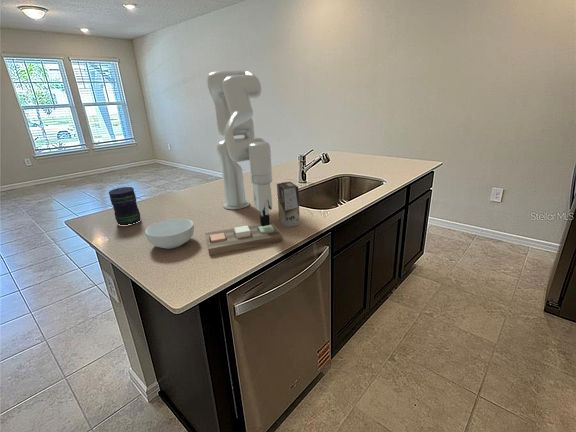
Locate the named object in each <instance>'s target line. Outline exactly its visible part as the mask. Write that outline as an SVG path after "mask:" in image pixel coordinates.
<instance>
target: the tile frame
mask: <svg viewBox="0 0 576 432" xmlns="http://www.w3.org/2000/svg"><path fill="white" fill-rule="evenodd" d="M270 225H271V226H272V227H273V228H274V232H270V233H265V234H260V233H259V231H258V227H259V226H261V223H256V224H250V225H249V224H248V225H247V226H248V228H249V229H250V234H251V236H248V237H243V238H237V239H236V236H235V231H234V228H235V227H231V228H227V229H220V230H215V231H210V232H209V231H208V232H204V234H205V240H206V244H207V245H206V246H207V251H208V255H209V256H213V255H218V254H223V253H224V254H225V253H229V252H235V251H239V250H245V249H251V248H255V247H260V246H266V245H271V244H275V243H281V242H283V235H282V233H281V232H280V231H279V229H278V228H277V226H276V225H275V224H274V223H273V222H272V221H270ZM219 233H224V235H225V238H226V241H221V242H215V243H211V238H210V235H214V234H219Z"/></svg>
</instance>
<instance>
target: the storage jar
mask: <svg viewBox="0 0 576 432" xmlns="http://www.w3.org/2000/svg"><path fill="white" fill-rule="evenodd" d="M108 195H109V200H110V202H111V206H112V208H113V211H114V216H115V217H114V218H115V220H116V223H118V224H120V225H128V224H133V223H136V222H138V221H140V219H141V212H140V210H139V207H138V204H137V195H136V193H135V189H134V187H132V186H123V187H117V188H114V189H111V190H109V191H108ZM141 220H142V219H141ZM118 224H117V225H118Z"/></svg>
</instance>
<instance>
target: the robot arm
mask: <svg viewBox="0 0 576 432" xmlns="http://www.w3.org/2000/svg"><path fill="white" fill-rule="evenodd" d="M206 80H207V81H206V82H207V87H208V91H209V93H210V96H211V98H212V100H213V103H214V109H215V117H216V125H217V126H216V127H217V130H218V133H219V135H220V136H222V137H224V139H223V140H220V141H218V143H217V146H216V152H217V155H218V158H219V162H220V169H221V173H222V182H223V189H224V196H225V202H223V204H222V205H223V208H224V209H226V210H240V209H245V208H246V207H248V206H249V205H250V201H249V200H248V199H246V191H245V190H246V189H245V182H244V181H245V180H244V172H243V168H242V166H241V165H240V164H239V162H247V161H249V169H250V170H249V173H250V181H251V184H252V189H253V191H252V193H253V204H254V206H255V208H256V210H257V211H259V221H260V223H261V226H268V225H270V222H271V221H270V211H271V210H273V198H272V197H273V196H272V187H271V183H273V169H272V156H271V155H272V154H271V145H270V143H269V142H267V141H265V139H264V138H262V137H261V138H260V137H256V136H255V126H254V120H253V115H254V109H253V107H252V104H251V101H250V99H258V98H259V97H260V96H261V93H262V85H261V82H260V79H259V78H258V77H257V75H256V74H254V73H252V72H251V71H248V70H217V71H212V72H210V73H209V74H208V75H207V79H206ZM236 136H243V137H241V138H240V137H239V138H235V137H236ZM260 223H259V224H260Z"/></svg>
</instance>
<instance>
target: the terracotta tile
mask: <svg viewBox="0 0 576 432" xmlns="http://www.w3.org/2000/svg"><path fill="white" fill-rule="evenodd" d="M210 238H211V243H215V242H221V241H226V238H225V235H224V233H219V234H214V235H210Z"/></svg>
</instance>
